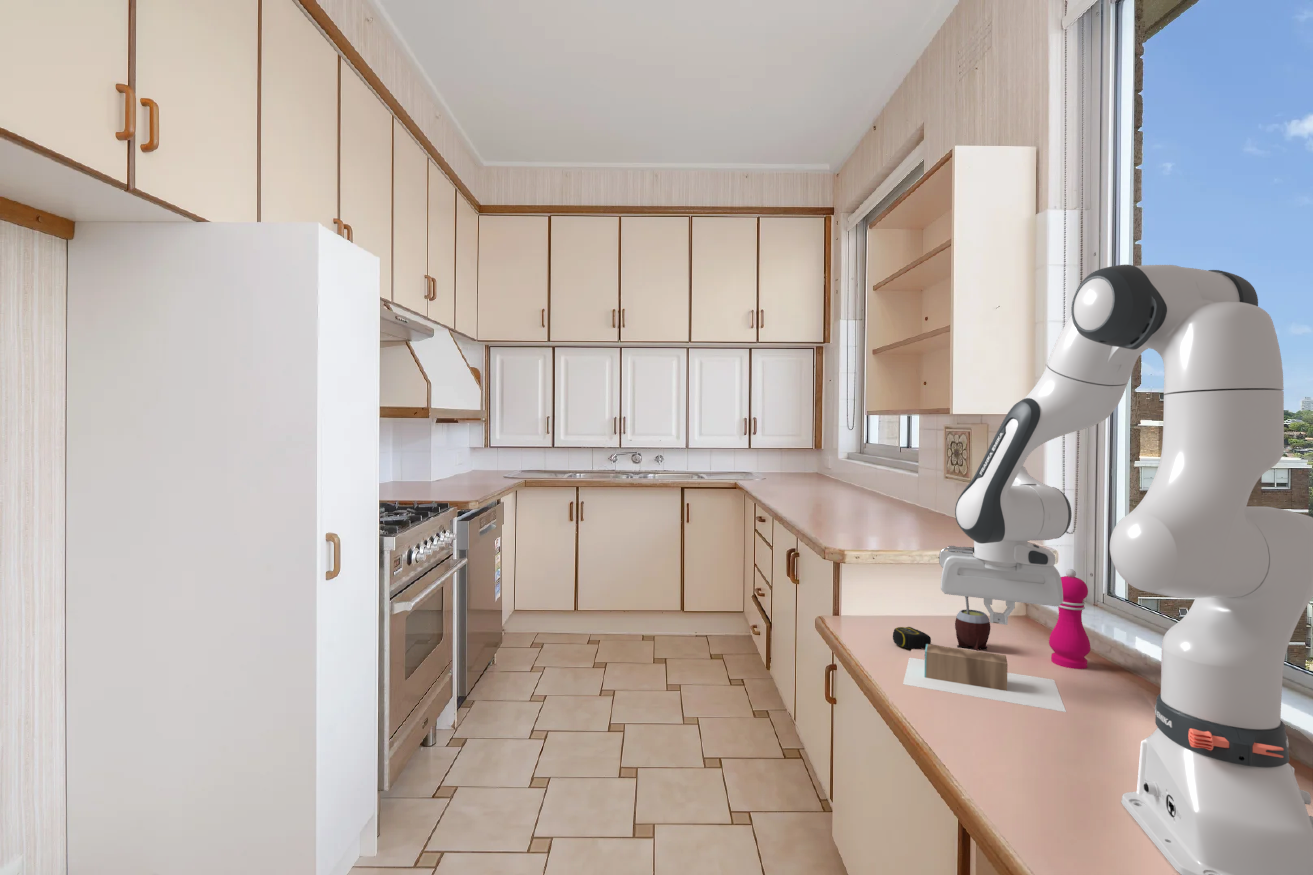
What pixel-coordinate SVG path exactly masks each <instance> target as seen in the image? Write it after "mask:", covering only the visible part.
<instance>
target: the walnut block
mask: <svg viewBox="0 0 1313 875" xmlns="http://www.w3.org/2000/svg"><path fill="white" fill-rule="evenodd" d="M924 648H925V649H924V660H925V675H924V677H925V678H931V679H937V680H943V681H949V682H955V683H961V684H968V685H974V686H980V687H986V688H992V689H998V690H1004V691H1007V673H1008V666H1009V665H1008V660H1007V655H1006V654H997V653H992V652H984V651H980V650H979V651H976V650H972V649H964V648H957V647H950V646H945V645H944V646H943V645H935V644H926V647H924Z"/></svg>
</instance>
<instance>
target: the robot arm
mask: <svg viewBox="0 0 1313 875" xmlns="http://www.w3.org/2000/svg"><path fill="white" fill-rule="evenodd" d="M1070 311H1071V312H1070V313H1071V315H1070V316H1069V318H1068V319H1067V322H1066V323H1065V324H1064V327H1063V328H1062V329H1061V332H1060V334H1059V336H1058V337H1057V339H1056V342H1055V344H1054V345H1053V349H1052V350H1051V353H1050V355H1049V358H1048V360H1047V364H1046V366H1045V369H1044V370H1043V373H1042V374H1041V377H1040V378H1039V379H1038V381H1037V383H1036V384H1035V385H1034V386H1033V388H1032V389H1031V390H1030V392H1029V393H1028V394H1027V395H1026V396H1024V398H1022V399H1020V400H1019V401H1018V402H1016V403H1015V404H1014V405H1013V406H1012V407H1011V408H1010V410H1009V411H1008V413H1007V414H1006V415H1005V417H1004V419H1003V420H1002V423H1001V424H1000V426H999V428H998V430H997V431H996V434H995V436H994V437H993V439H992V442H991V443H990V445H989V447H988V449H987V451H986V453H985V454H984V457H983V459H982V461H981V462H980V464H979V467H978V468H977V470H976V472H975V474H974V476H973V478H972V479H971V480H970V482H969V483H968V485H966V486H965V488H964V489H963V490H962V492H961V493H960V495H959V497H958V499H957V501H956V502H955V503H956V504H955V509H954V515H955V520H956V523H957V525H958V527H959V528H960V529H961V531H962V532H963V533H964V534H965V535H966V536H967V537H969V538H970V539H971V540H973V547H971V546H956V545H948V546H947V547H944V548H942V549H941V550H940V552H939V556H938V557H939V558H938V562H939V565H940V567H941V568H942V571H941V577H940V578H941V579H940V591H942V592H943V594H944V595H949V596H951V595H952V596H958V597H965V596H967V597H968V598H975V599H977V598H978V599H983V605H984V607H985V608H986V609H987V612H988V613H989V622H990V624H999V625H1005V626H1007V625H1008V624H1009V623H1008V621H1009V616H1010V615H1011V613H1012V612H1013V611H1014V609H1015V606H1016V603H1021V604H1022V603H1023V604H1031V605H1039V606H1048V607H1049V606H1051V607H1058V606H1059V605H1060V604H1061V603H1062V602H1063V588H1062V581H1061V577H1062V576H1061V574H1060V572H1059V571H1058V569H1057V567H1055V564H1056V559H1057V558H1056V555H1055V553H1054V552H1053V551H1051V550H1050V549H1048V548H1046V547H1042V546H1039V545H1036V544H1035V543H1032V542H1030V541H1049V540H1055V539H1056V540H1057V539H1060V538H1062V537H1063V536H1064V535H1065V533H1067V531H1068V529H1069V528H1070V526H1071V524H1072V523H1071V522H1072V518H1073V517H1072V506H1071V503H1070V501H1069V499H1068V497H1067V496H1066V495H1065V494H1064V492H1062V491H1061V490H1060V489H1059V488H1057V487H1054V486H1049V485H1048V484H1045V483H1043V482H1041V481H1039V480H1038V479H1036V478H1035V477H1033V476H1031V475H1030V473H1029V472H1028V470H1027V468H1026V467H1025V466H1024V464H1025V462H1026V461H1027V458H1028V457H1029V456H1030V454H1031V453H1032V452H1034V451H1035V450H1036V449H1037V448H1038V447H1040V446H1042V445H1043V444H1045V443H1047V442H1049V441H1052V440H1054V439H1056V438H1058V437H1063V436H1065V435H1068V434H1072V433H1075V432H1078V431H1082V430H1086V429H1089V428H1092V427H1094V426H1097V425H1098V424H1100V423H1101V422H1104V421H1105V420H1106V419H1108V418H1109V417H1110V416H1111V415H1112V413H1113V412H1114V410H1116V409H1117V407H1118V405H1119V404H1120V401H1121V400H1122V398H1123V396H1124V393H1125V391H1126V389H1127V387H1128V383H1129V381H1130V378H1131V376H1132V373H1133V371H1134V367H1135V364H1136V362H1137V360H1138V359H1139V356H1141V355H1142V354H1143V353H1144V352H1145V351H1146V350H1148V349H1151V350H1154V351H1155V352H1156V353H1158V355H1159V357H1161V359H1162V361H1163V369H1164V371H1163V372H1164V376H1163V420H1162V421H1163V423H1162V424H1163V425H1162V445H1161V446H1162V447H1161V452H1160V454H1161V455H1160V459H1159V463H1158V465H1157V469H1156V472H1155V475H1154V477H1153V479H1152V482H1151V484H1150V485H1149V488H1148V490H1147V492H1146V494H1145V495H1144V496H1143V498H1142V500H1140V502H1139V503H1138V504H1137V505H1136V507H1135V508H1133V509H1132V510H1131V511H1129V513H1128V514H1127V515H1125V516H1123V517H1122V518H1121V519H1120V520H1119V521H1118V522H1117V523H1116V525H1115V527H1113V530H1112V533H1111V535H1110V538H1109V539H1110V541H1109V554H1110V558H1111V561H1112V564H1113V566H1114V568H1115V569H1116V571H1117V573H1118V574H1119V575H1120V577H1121V578H1122V579H1123V580H1124V581H1125V582H1126V583H1127V584H1128V585H1130V587H1133V588H1135V589H1137V590H1140V591H1143V592H1148V593H1151V594H1154V595H1160V596H1166V597H1170V598H1177V599H1194V601H1193V602H1192V604H1191V607H1190V608H1189V609H1188V611H1187V613H1186V614H1185V615H1184V617H1182V618H1181V619H1180V620H1179V621H1178V622H1177V623H1175V624H1173V625H1172V626H1171V627H1170V628H1169V629H1168V630H1167V631H1166V632H1165V634H1164V635H1163V638H1162V640H1161V666H1160V667H1161V668H1160V671H1161V672H1160V693H1159V694H1158V695H1157V696H1156V699H1155V700H1156V702H1155V705H1154V714H1155V721H1154V722H1155V725H1156V727H1157V728H1156V729H1155V731H1154V732H1152V733H1151V734H1150V735H1149V736H1148V737H1146V738H1143V739H1142V740H1141V742H1140V748H1139V758H1138V759H1139V760H1138V761H1139V762H1138V772H1137V786H1136V790H1135V791H1130V792H1129V791H1127V792H1125V793H1123V794H1122V796H1121V804H1122V806H1123V807H1124V809H1126V811H1127V812H1128V813H1129V814H1130V815H1131V817H1132V818H1133V819H1134V820H1135V822H1136V823H1137V825H1139V826H1140V828H1141V829H1142V830H1143V831H1144V833H1145V834H1146V835H1147V836H1148V838H1150V839H1149V840H1151V842H1153V844H1154V845H1155V846H1156V848H1158V850H1159V851H1160V852H1161V853H1162V855H1163V856H1164V857H1165V858H1166V859H1167V861H1168V862H1169V863H1170V865H1171V866H1172V868H1174V869H1175V871H1177V872H1178V874H1180V875H1313V816H1311V815H1309V813H1308V809H1307V807H1306V805H1311V803H1312V799H1311V793H1310V792H1309V791H1306V790H1303V789H1300V786H1299V783H1298V781H1297V778H1296V775H1295V768H1294V767H1293V766H1292V765H1291V764H1290V763H1289V762H1290V755H1289V754H1290V753H1289V745H1290V744H1289V737H1288V735H1287V732H1286V731H1287V730H1286V725H1285V723H1284V722H1283V720H1282V719H1281V717H1282V716H1281V712H1282V694H1283V693H1282V692H1283V678H1284V676H1283V674H1284V665H1285V658H1286V654H1287V651H1288V647H1289V645H1290V641H1291V639H1292V636H1293V635H1294V633H1295V632H1294V631H1295V629H1296V627H1297V625H1298V623H1299V621H1300V619H1301V617H1302V615H1303V614H1304V611H1305V610H1306V608H1307V606H1308V604H1309V603H1310V601H1311V600H1312V599H1313V516H1310V515H1308V514H1307V515H1306V514H1303V513H1298V512H1296V511H1291V510H1286V509H1283V508H1277V507H1273V506H1248V502H1249V499H1250V498H1251V497H1250V496H1251V494H1252V491H1253V490H1254V488H1255V486H1256V484H1257V483H1258V481H1259V480H1260V479H1261V478H1262V476H1263V475H1264V474H1265V473H1266V472H1267V471H1269V470H1271V469H1272V468H1273V467H1275V466H1276V465H1277V464H1278V463H1279V462H1280V461H1281V460H1282V457H1283V455H1284V452H1285V441H1284V440H1285V430H1284V429H1285V426H1284V425H1285V421H1284V420H1285V418H1284V416H1285V414H1284V413H1285V412H1284V411H1285V410H1284V408H1285V407H1284V406H1285V404H1284V398H1285V396H1284V373H1283V372H1284V370H1283V362H1282V356H1281V350H1280V345H1279V338H1278V335H1277V332H1276V329H1275V325H1274V322H1273V321H1274V320H1273V319H1272V317H1271V315H1270V314H1269V313H1268V312H1267V311H1266V310H1264V309H1263V308H1262V307H1260V306H1259V297H1258V294H1257V291H1256V289H1255V286H1253V285H1252V284H1251V282H1250V281H1248V280H1247V279H1246V278H1244V277H1241V276H1239V275H1237V274H1234V273H1231V272H1228V271H1223V270H1219V269H1210V270H1205V269H1200V268H1193V267H1184V266H1179V265H1174V264H1144V265H1132V264H1117V265H1113V266H1107V267H1103V268H1100V269H1097V270H1095V271H1093V272H1091V273H1090V274H1089V275H1087V276H1086V277H1085V278H1084V279H1083V280H1082V282H1081V283H1080V284H1079V285H1078V287H1077V289H1076V290H1075V293H1074V295H1073V299H1072V302H1071V310H1070ZM993 600H995V601H1003V602H1004V601H1005V606H1006V608H1005V609H1004V610H1003V611H1004V612H996V611H994V610H993V608H992V606H991V605H993Z"/></svg>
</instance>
